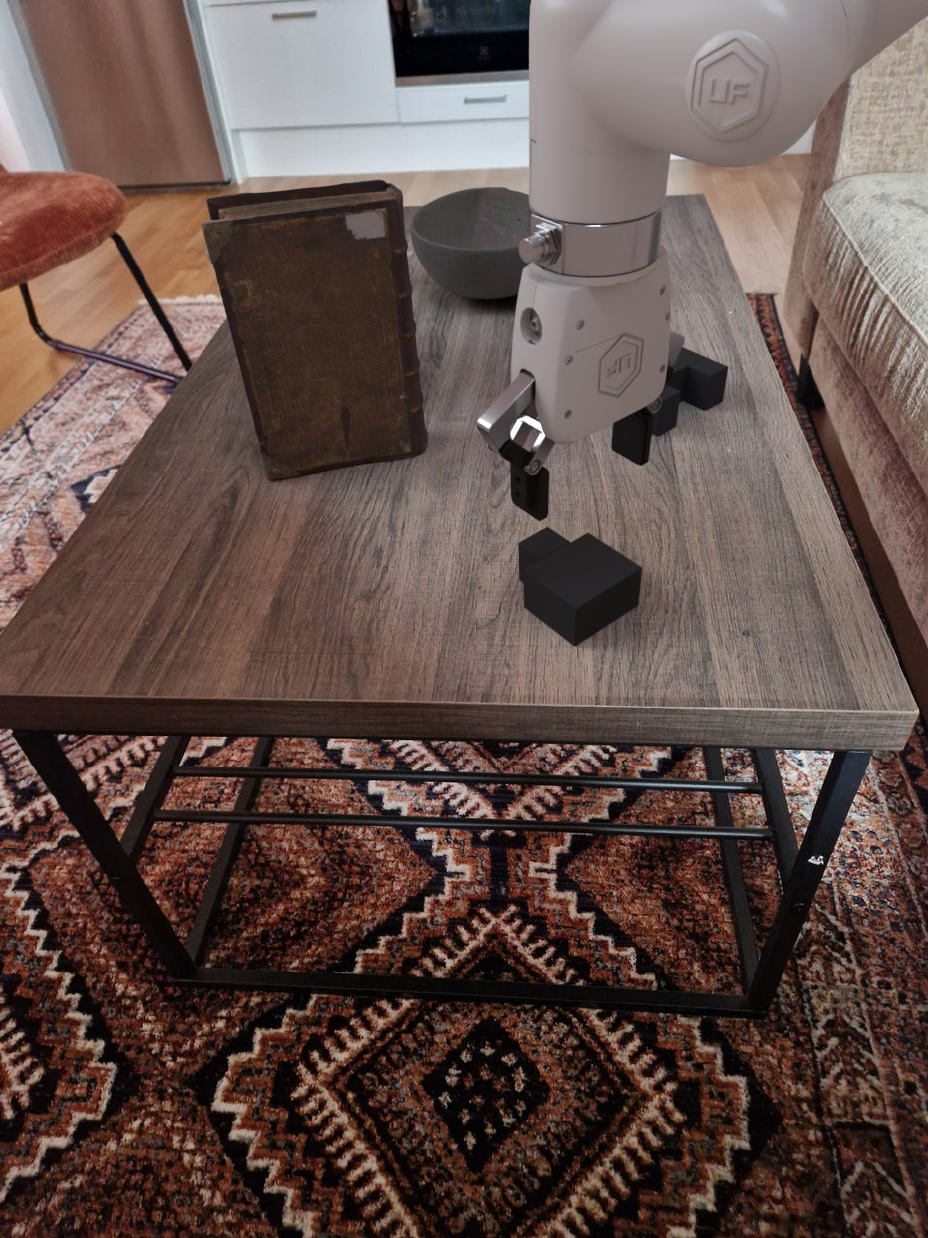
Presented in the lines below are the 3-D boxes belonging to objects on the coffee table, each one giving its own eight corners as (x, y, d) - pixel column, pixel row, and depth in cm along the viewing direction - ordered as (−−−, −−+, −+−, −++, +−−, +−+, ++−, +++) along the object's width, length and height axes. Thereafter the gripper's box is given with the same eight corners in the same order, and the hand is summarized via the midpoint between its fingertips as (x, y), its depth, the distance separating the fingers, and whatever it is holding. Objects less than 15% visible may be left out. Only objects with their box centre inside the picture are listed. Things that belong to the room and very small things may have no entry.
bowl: (395, 318, 109) (385, 239, 102) (443, 257, 123) (437, 183, 116) (548, 329, 104) (548, 246, 97) (580, 264, 118) (582, 187, 111)
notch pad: (723, 401, 89) (728, 366, 87) (657, 436, 85) (661, 401, 83) (626, 357, 98) (629, 324, 95) (563, 387, 94) (563, 353, 91)
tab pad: (638, 605, 68) (642, 567, 65) (574, 646, 65) (576, 608, 62) (563, 553, 73) (564, 516, 70) (501, 590, 70) (499, 552, 67)
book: (428, 429, 89) (400, 173, 72) (432, 467, 84) (403, 200, 67) (270, 445, 89) (204, 192, 72) (264, 484, 84) (192, 221, 67)
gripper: (522, 301, 42) (523, 561, 54) (746, 211, 50) (703, 459, 62) (434, 259, 47) (452, 508, 59) (651, 183, 54) (628, 418, 66)
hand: (581, 483), depth 60 cm, fingers open, 9 cm apart
